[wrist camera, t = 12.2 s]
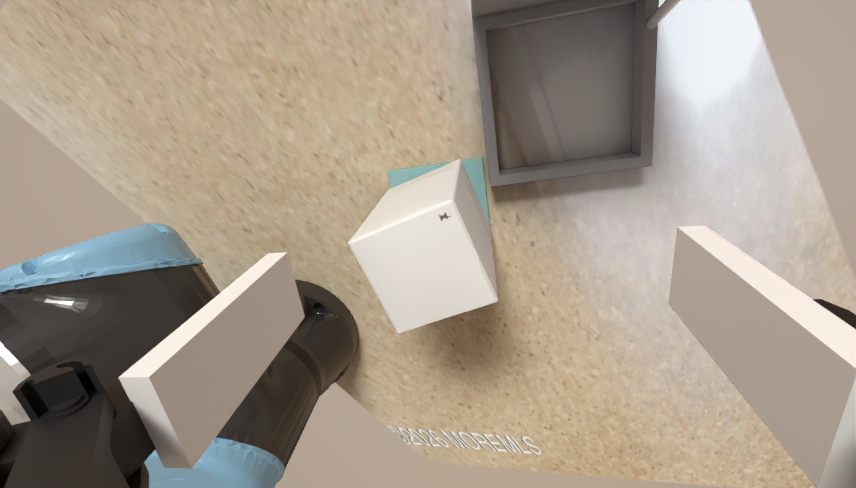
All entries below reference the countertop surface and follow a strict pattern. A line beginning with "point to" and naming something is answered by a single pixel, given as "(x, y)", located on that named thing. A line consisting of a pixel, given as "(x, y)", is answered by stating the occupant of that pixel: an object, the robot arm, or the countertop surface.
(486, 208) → the mat
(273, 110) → the countertop surface
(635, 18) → the case
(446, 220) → the supplement box
